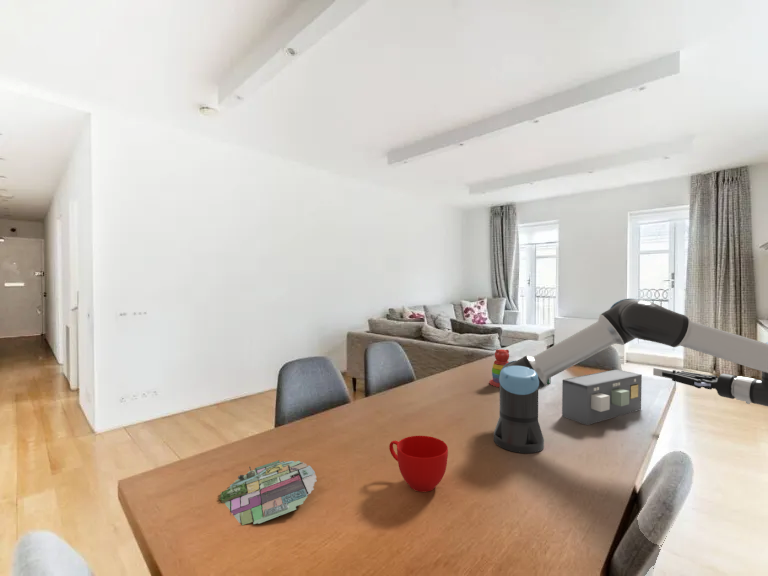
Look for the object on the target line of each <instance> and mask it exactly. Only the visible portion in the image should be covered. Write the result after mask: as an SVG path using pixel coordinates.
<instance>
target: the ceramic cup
mask: <svg viewBox="0 0 768 576" xmlns="http://www.w3.org/2000/svg"><path fill="white" fill-rule="evenodd" d="M394 445H396V452H395V449H394ZM388 446H389V447H388V449H389V453H390V454H391V456H392V457H393V459H394V460H395V461H396V462H397V465H398V468H399V472H400V473H401V476H402V478H403V479H404V481H405V482H406V483H407V485H408V486H409V487H410V488H411V490H413V491H416V492H420V493H426V492H427V493H428V492H430V491H433V490H434V489H435V488H436V487H437V486H438V485H439V484H440V483H441V481H442V480H443V477H444V476H445V473H446V471H447V466H448V455H449V448H448V445H447V444H446V443H445V442H444V441H443V440H441V439H439V438H437V437H433V436H427V435H412V436H407V437H404V438H402V439H400V440H399V441H398V440H392V441H391V442H390V443H389V445H388Z"/></svg>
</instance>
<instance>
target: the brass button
mask: <svg viewBox="0 0 768 576" xmlns="http://www.w3.org/2000/svg"><path fill="white" fill-rule="evenodd" d="M636 397H638V384H634V385H630V399H632V398H636Z"/></svg>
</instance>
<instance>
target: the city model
mask: <svg viewBox="0 0 768 576" xmlns="http://www.w3.org/2000/svg"><path fill="white" fill-rule="evenodd" d="M317 478H318V477H317V475H316V472H315V470H314V468H312V466H311V465H308V464H307V462H304V461H300V460H297V461H294V460H290V461H287V460H286V461H285V460H282V461H280V459H279V460H276V461H273V462H268V463H266V464H263V465H259V466H257V467H255V468H254V469H253V470H252V468H251V466H249V471H247V473H246V474H240V475H238V476H237V479H235V480H234V482H232V484H230V486H229V487H228V488H226V489H225V490H223V491H221V492H220V497H219V500H220V501H221V503H224V504H225V506H226V508H228V511H229V513H231V515H232V516H233V517H234V518H235V519H236V521H237V522H238V524H241V526H244V525H247V524H251V523H253V525H256V524H262V523H265V522H267V521H270V520H273V519H275V518H278V517H279V516H283V515H286V514H288V513H290V512H293V511H295V510H297V507H298V506H301V505H303V504H304V502H305V501H306V499H307V498H308V497H309V494H312V491H314V490H315V488H314V487H315V483H316V482H317V481H318V480H317Z"/></svg>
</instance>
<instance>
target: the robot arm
mask: <svg viewBox="0 0 768 576" xmlns="http://www.w3.org/2000/svg"><path fill="white" fill-rule="evenodd" d="M635 339H637V340H643V341H648V342H653V343H656V344H657V343H658V344H661V345H665V346H669V347H672V348H677V347H683V348H687V349H690V350H693V351H697V352H700V353H703V354H706V355H709V356H712V357H715V358H718V359H722V360H725V361H727V362H728V361H729V362H731V363H735V364H737V365H741V366H744V367H748V368H750V369H753V370H757V371H760V372H761V379H757V378H752V377H748V376H741V375H739V376H737V375H736V374H729V373H724V372H723V373H720V374H719V375H711V374H705V373H697V372H692V371H691V372H690V371H684V370H681V371H676V369H674V370H671V369H666V368H661V367H653V371H652V373H653V376H654V377H661V378H666V379H671V381H673V382H675V383H680V384H684V385H687V386H690V387H693V388H694V387H695V388H697V389H702V388H704V389H706V390H713V389H715V390H716V394H717V395H719V396H720V397H723V398H727V399H732V400H734V399H736V400H737V401H741V402H745V404H747V405H751V404H756V405H759V406H764V407H768V341H767V342H762V341H759V340H757V339H753V338H751V337H750V338H749V337H746V336H743V335H740V334H737V333H732V332H730V331H726V330H722V329H719V328H716V327H712V326H710V325H706V324H703V323H699V322H696V321H693V320H691V319H690V317H689V316H688V315H685V314H682V313H679V312H676V311H673V310H671V309H669V308H666V307H663V306H661V305H660V304H656V303H654V302H651V301H648V300H642V299H637V298H624V299H620V300H618V301H616V302H614V303H613V304H612V306H610V308H608V309H607V310H606V311H603V312H601V313H600V314H599V316H598V320H597V321H596V322H594V323H592V324H590V325H589V326H587V327H585V328H583V329H582V330H579V331H577V332H576V333H574V334H571V335H570V336H568V337H566V338H565V339H563V340H561V341H559V342H558V343H556V344H554V345H552V346H551V347H549V348H547V349H545V350H543V351H542V352H541V351H540V353H537V354H536V355H533V356H531V355H525V356H523V357H521V358H519V359H517V360H511V361H508V362H509V363H507V364H506V365H505V366H504V367H503V368H502V370H501V372H500V376H499V382H500V388H499V417H498V420H497V422H496V425H495V428H494V431H493V442H494V443H495V444H496V446H498V447H500V448H502V449H504V450H507V451H510V452H513V453H520V454H534V453H538V452H541V451H543V450H544V448H545V438H544V435H543V431H542V429H541V426H540V423H539V390H540V389H542V388H543V387H546V386H547V385H548V384H547V380H548V379H549V378H551V379H552V378H553V377H555V376H557V375H558V374H560V373H562V372H564V371H565V370H567V369H569V368H571V367H574V366H575V365H577V364H578V363H581V362H583V361H585V360H587V359H589V358H590V357H592V356H594V355H596V354H598V353H600V352H602V351H603V350H604V351H605V350H606V349H607V348H610V347H612V346H614V345H615V344H616V345H621V346H624V345H626V344H628V343H630V342H632V341H633V340H635Z"/></svg>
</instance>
